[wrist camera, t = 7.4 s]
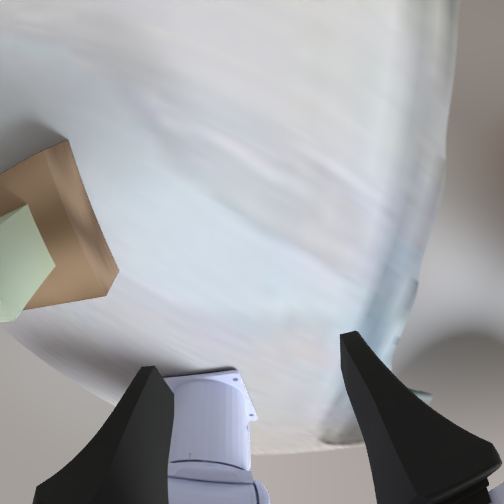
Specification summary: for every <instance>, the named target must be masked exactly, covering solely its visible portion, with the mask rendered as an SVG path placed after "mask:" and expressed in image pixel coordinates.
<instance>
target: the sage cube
mask: <svg viewBox="0 0 504 504" xmlns="http://www.w3.org/2000/svg"><path fill="white" fill-rule="evenodd" d="M55 266H56V265H55V264H54V262H53V260H52V258H51V256H50V254H49V252H48V249H47V247H46V245H45V243H44V241H43V239H42V237H41V235H40V232H39V230H38V228H37V226H36V223H35V221H34V219H33V216H32V214H31V212H30V209H29V207H28V204H27V205H24V206H22V207H20V208H18V209H16V210H14V211H12V212H10V213H7V214H5V215H3V216H1V217H0V323H2V322H10V321H15V320H16V318H17V317H18V316H19V314H20V313H21V311H22V310H23V308H24V307H25V306H26V304H27V303H28V301H29V300H30V299H31V297H32V296H33V295H34V293H35V292H36V291H37V289H38V288H39V287H40V285H41V284H42V283H43V281H44V280H45V279H46V278H47V276H48V275H49V274H50V273H51V271H52V270H53V269H54V268H55Z"/></svg>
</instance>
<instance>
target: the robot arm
mask: <svg viewBox="0 0 504 504" xmlns="http://www.w3.org/2000/svg"><path fill="white" fill-rule="evenodd" d="M340 353H341V370H342V374H343V379H344V383H345V387H346V390H347V393H348V396H349V399H350V402H351V404H352V407H353V410H354V413H355V415H356V418H357V421H358V424H359V426H360V429H361V432H362V435H363V438H364V441H365V444H366V448H367V452H368V457H369V462H370V466H371V471H372V476H373V481H374V486H375V492H376V499H377V504H504V482H503V483H502V484H500V485H499V486H497V487H495V488H494V489H492V490H491V491H489V492H488V490H487V488H486V487H487V486H489V482H488V479H487V477H488V476H490V475H491V474H492V473H493V472H495V471H496V470H497V469H498V468H500V466H501V464H502V461H501V459H500V456H499V454H498V452H497V450H496V449H495V447H494V446H493V444H492V443H490V442H488V441H486V440H484V439H481V438H479V437H477V436H475V435H473V434H472V433H469V432H468V431H466V430H464V429H462V428H461V427H459V426H457V425H456V424H454V423H453V422H451V421H449V420H448V419H446V418H445V417H443V416H442V415H440V414H439V413H437V412H436V411H434V410H433V409H432V408H431V407H429V406H428V405H427V404H426V403H424V402H423V401H422V400H421V399H419V398H418V397H417V396H416V395H415V394H414V393H412V392H411V391H410V390H409V389H408V388H407V387H406V386H405V385H404V384H403V383H402V382H401V381H400V380H399V379H398V378H397V377H396V376H395V375H394V374H393V373H392V372H391V371H390V370H389V369H388V368H387V367H386V366H385V365H384V364H383V362H382V361H381V360H380V359H379V358H378V357H377V356H376V354H375V353H374V352H373V351H372V350H371V348H370V347H369V346H368V345H367V343H366V342H365V341H364V339H363V338H362V337H361V335H360V334H359V332H357V331H353V332H349V333H345V334H340ZM257 419H258V416H257V414H256V411H255V409H254V407H253V404H252V402H251V400H250V397H249V395H248V392H247V390H246V388H245V385H244V383H243V380H242V378H241V375H240V373H239V372H238V371H236V370H231V371H223V372H216V373H207V374H199V375H189V376H179V377H167V378H163V377H162V376H161V375H160V373H159V372H158V370H157V369H156V367H155V366H147V367H141V369H140V370H139V372H138V373H137V375H136V376H135V378H134V379H133V381H132V382H131V384H130V386H129V387H128V389H127V390H126V392H125V394H124V395H123V397H122V398H121V400H120V401H119V403H118V404H117V406H116V407H115V409H114V411H113V412H112V413H111V415H110V416H109V417H108V419H107V420H106V422H105V423H104V424H103V426H102V427H101V429H100V430H99V431H98V433H97V434H96V435H95V436H94V437H93V438H92V440H91V441H90V442H89V443H88V444H87V445H86V447H85V448H84V449H83V450H82V451H81V452H80V453H79V454H78V455H77V456H76V457H75V458H74V459H73V460H72V461H70V462H69V463H68V464H67V465H66V466H65V467H64V468H62V469H61V470H60V471H59V472H57V473H56V474H55V475H53V476H52V477H51V478H49V479H47V480H46V481H45V482H43V483H42V484H40V485H38V486H37V487H36V492H35V496H34V499H33V504H271V503H270V497H269V493H268V491H267V489H266V487H265V486H264V485H263V484H262V483H261V482H260V481H258V480H253V471H249V470H250V466H251V455H250V432H249V422H251V421H256V420H257Z"/></svg>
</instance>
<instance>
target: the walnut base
mask: <svg viewBox="0 0 504 504" xmlns="http://www.w3.org/2000/svg"><path fill="white" fill-rule="evenodd" d="M27 204H28V207H29V209H30V212H31V214H32V216H33V219H34V221H35V223H36V226H37V228H38V230H39V232H40V235H41V237H42V239H43V241H44V243H45V245H46V247H47V249H48V252H49V254H50V256H51V258H52V260H53V262H54V264H55V265H56V266H55V268H54V269H53V270H52V271H51V273H50V274H49V275H48V276H47V278H46V279H45V280H44V281H43V283H42V284H41V285H40V287H39V288H38V289H37V291H36V292H35V293H34V295H33V296H32V297H31V299H30V300H29V301H28V303H27V304H26V306H25V307H24V308H23V310H27V309H33V308H39V307H45V306H51V305H57V304H63V303H69V302H75V301H80V300H86V299H92V298H97V297H103V296H106V295H107V293H108V291H109V289H110V287H111V285H112V284H113V282H114V280H115V278H116V276H117V274H118V272H119V269H118V267H117V265H116V263H115V260H114V258H113V256H112V254H111V252H110V249H109V247H108V245H107V243H106V240H105V238H104V236H103V233H102V231H101V229H100V226H99V224H98V221H97V219H96V216H95V214H94V212H93V209H92V206H91V204H90V201H89V199H88V196H87V193H86V191H85V188H84V185H83V183H82V180H81V177H80V174H79V171H78V168H77V165H76V163H75V160H74V157H73V153H72V150H71V147H70V144H69V141H68V140H66V141H64V142H61V143H59V144H57V145H54V146H52V147H50V148H47V149H45V150H43V151H41V152H39V153H37V154H35V155H33V156H31V157H30V158H28V159H26V160H24V161H22V162H21V163H19V164H17V165H15V166H14V167H12V168H10V169H8V170H7V171H5V172H3V173H2V174H0V217H1V216H3V215H5V214H7V213H10V212H12V211H14V210H16V209H18V208H20V207H22V206H24V205H27Z"/></svg>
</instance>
